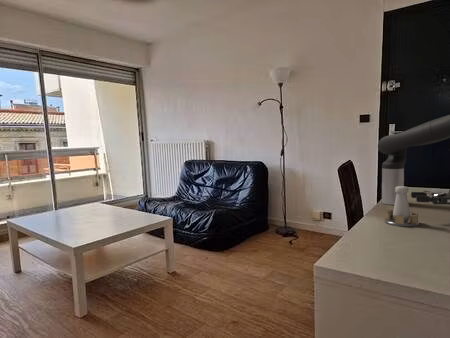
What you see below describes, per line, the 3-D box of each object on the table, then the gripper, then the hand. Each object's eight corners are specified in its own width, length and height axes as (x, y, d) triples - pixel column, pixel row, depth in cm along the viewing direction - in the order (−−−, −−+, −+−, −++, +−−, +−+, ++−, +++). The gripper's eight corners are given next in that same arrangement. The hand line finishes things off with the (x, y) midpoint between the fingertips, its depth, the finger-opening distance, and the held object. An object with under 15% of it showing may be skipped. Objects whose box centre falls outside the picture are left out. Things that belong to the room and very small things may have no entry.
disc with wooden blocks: (387, 218, 120) (387, 208, 120) (419, 221, 113) (419, 211, 113) (382, 224, 111) (382, 214, 111) (417, 228, 105) (417, 217, 104)
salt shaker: (412, 220, 112) (412, 186, 111) (408, 223, 108) (409, 188, 107) (394, 218, 116) (395, 185, 115) (390, 221, 112) (391, 186, 111)
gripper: (460, 184, 111) (409, 184, 117) (476, 190, 97) (418, 189, 103) (459, 204, 111) (409, 203, 117) (476, 213, 98) (418, 211, 104)
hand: (413, 196), depth 110 cm, fingers open, 8 cm apart
